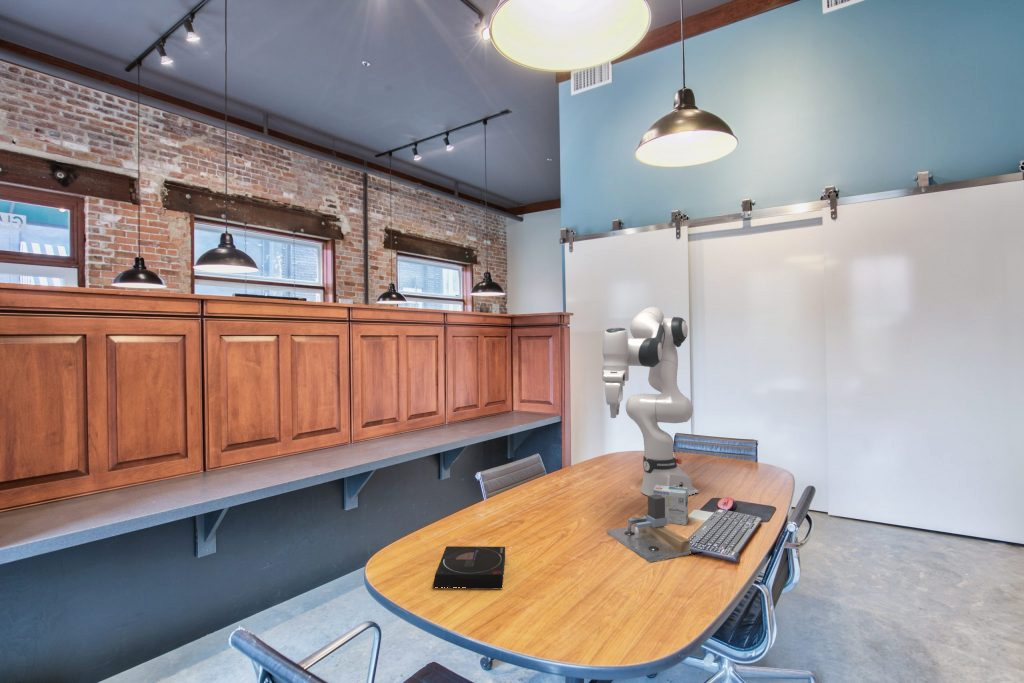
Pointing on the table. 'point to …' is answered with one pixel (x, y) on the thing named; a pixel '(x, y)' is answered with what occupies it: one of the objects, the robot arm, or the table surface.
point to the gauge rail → (662, 534)
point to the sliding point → (653, 514)
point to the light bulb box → (674, 503)
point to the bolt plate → (645, 544)
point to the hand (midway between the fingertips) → (614, 416)
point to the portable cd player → (471, 567)
